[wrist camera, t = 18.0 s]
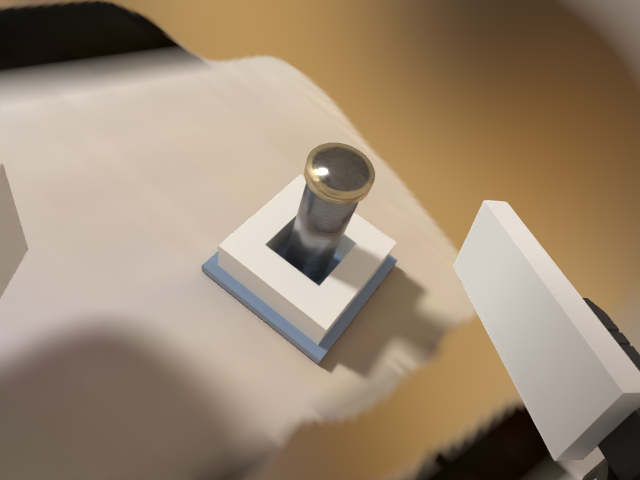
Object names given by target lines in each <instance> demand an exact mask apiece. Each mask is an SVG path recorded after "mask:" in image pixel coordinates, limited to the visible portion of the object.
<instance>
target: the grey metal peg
mask: <svg viewBox="0 0 640 480" xmlns="http://www.w3.org/2000/svg"><path fill="white" fill-rule="evenodd" d="M304 177H305V180H306V185H305V188H304V192H303V195H302V199H301V202H300V205H299V209H298V212H297V216H296V219H295V223H294V226H293V230H292V233H291V237H290V240H289V244H288V247H287V251H286V254H285V258H284V260H286V261H287V262H288V263H290V264H291V265H292V266H293V267H295V268H296V269H297V270H299V271H300V272H301V273H303V274H304V275H305V276H307V277H308V278H309V279H310V280H312V281H313V282H317V281H319V280H321V279H322V278H323V277H324V276H325V274H326V272H327V270H328V268H329V266H330V263H331V261H332V259H333V257H334V255H335V252H336V250H337V248H338V246H339V244H340V242H341V239H342V237H343V235H344V233H345V231H346V228H347V226H348V224H349V222H350V220H351V217H352V215H353V213H354V211H355V209H356V207H357V204H358V202H359V201H361V200H362V199H364V198H365V197H366V196H367V194H368V193H369V191H370V189H371V187H372V185H373V182H374V179H375V171H374V168H373V165H372V163H371V162H370V160H369V159H368V158H367V157H366V156H365V155H364V154H363V153H362V152H360V151H359V150H357V149H356V148H354V147H351V146H349V145H346V144H341V143H326V144H322V145H319V146H317V147H316V148H314V149H313V150H312V151H311V152H310V154H309V156H308V158H307V162H306V165H305V169H304Z"/></svg>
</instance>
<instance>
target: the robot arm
mask: <svg viewBox="0 0 640 480" xmlns="http://www.w3.org/2000/svg"><path fill="white" fill-rule="evenodd" d="M27 250H28V247H27V244H26V240H25V237H24V233H23V230H22V227H21V223H20V220H19V216H18V213H17V210H16V206H15V203H14V199H13V196H12V193H11V189H10V186H9V182H8V179H7V176H6V172H5V169H4V166H3V164H1V163H0V298H1V296H2V294H3V292H4V291H5V289H6V287H7V285H8V284H9V282H10V280H11V278H12V277H13V275H14V273H15V271H16V270H17V268H18V266H19V264H20V262H21V261H22V259H23V257H24V255H25V254H26V252H27ZM453 268H454V270H455V272H456V274H457V276H458V277H459V279H460V281H461V283H462V285H463V287H464V289H465V291H466V293H467V295H468V297H469V299H470V300H471V302H472V304H473V306H474V308H475V310H476V312H477V314H478V316H479V318H480V320H481V321H482V323H483V325H484V327H485V329H486V331H487V333H488V335H489V337H490V339H491V341H492V343H493V344H494V346H495V348H496V350H497V352H498V354H499V356H500V358H501V360H502V361H503V364H504V365H505V367H506V369H507V371H508V373H509V375H510V377H511V379H512V381H513V383H514V384H515V386H516V388H517V390H518V392H519V394H520V396H521V398H522V400H523V402H524V404H525V406H526V408H527V409H528V411H529V413H530V415H531V417H532V419H533V421H534V423H535V425H536V427H537V429H538V430H539V432H540V434H541V436H542V438H543V440H544V442H545V444H546V446H547V448H548V450H549V452H550V453H551V455H552V457H553V459H554V461H564V460H580V459H581V460H582V459H584V458H585V457H586V456H587V455H588V454H589V453H590V452H592V451H593V450H594V448H596V447H597V446H598V447H599V449H600V450H601V452H602V454H603V455H604V457H605V459H603V460H602V461H601V462H600V463H599V464H598V465H597V466H596V467H594V468H593V469H592V470H591V471H590V472H589V473H587V474H586V475H585V476H584V477H583V479H582V480H594V479H595V478H597V480H640V355H639V353H638V352H637V351H636V350H635V348H634V347H633V346H630V342H629V341H628V340H627V339H626V337H625V336H624V335H623V334H622V333H619V329H618V327H617V326H616V325H615V324H614V323H613V321H611V319H610V318H609V316H608V315H607V314H606V313H605V312H604V311H603V310H601V309H600V308H599V307H598V306H596V305H595V304H594V303H593V302H591V301H590V300H589V299H588V298H582V297H581V296H580V295H579V294H578V292H577V291H576V290H575V288H574V287H573V286H572V285H571V284H570V282H569V281H568V279H567V278H566V277H565V276H564V274H563V273H562V272H561V271H560V269H559V268H558V267H557V266H556V264H555V263H554V262H553V261H552V259H551V258H550V257H549V255H548V254H547V253H546V251H545V250H544V249H543V248H542V247H541V245H540V244H539V243H538V241H537V240H536V239H535V238H534V236H533V235H532V234H531V232H530V231H529V230H528V229H527V227H526V226H525V225H524V224H523V222H522V221H521V220H520V218H519V217H518V216H517V215H516V213H515V212H514V211H513V210H512V208H511V207H510V206H509V204H508V203H507V202H503V201H490V200H484V201H483V203H482V206H481V208H480V210H479V212H478V214H477V216H476V218H475V221H474V223H473V225H472V227H471V229H470V231H469V233H468V236H467V238H466V240H465V242H464V244H463V246H462V248H461V250H460V253H459V255H458V257H457V259H456V261H455V263H454V265H453Z"/></svg>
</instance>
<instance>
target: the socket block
mask: <svg viewBox="0 0 640 480" xmlns="http://www.w3.org/2000/svg"><path fill="white" fill-rule="evenodd" d="M305 185H306V180H305V177H304V176H302V175H301V174H300V175H299V176H298V177H297V178H296V179H294V180H293V181H292V182H291V183H290V184H289V185H287V186H286V187H285V188H284V189H283V190H282V191H281V192H279V193H278V194H277V195H276V196H275V197H274V198H272V199H271V200H270V201H269V202H268V203H267V204H266V205H264V206H263V207H262V208H261V209H260V210H259V211H258V212H256V213H255V214H254V215H253V216H252V217H251V218H249V219H248V220H247V221H246V222H245V223H244V224H243V225H241V226H240V227H239V228H238V229H237V230H236V231H234V232H233V233H232V234H231V235H230V236H229V237H228V238H226V239H225V240H224V241H223V242H222V243H221V244H219V245H218V252H217V253H216V254H215V255H213V256H212V257H211V258H210V259H209V260H208V261H207V262H205V263H204V264H203V265H202V271H203V272H204V273H205V274H206V275H208V276H209V277H210V278H211V279H213V280H214V281H215V282H216V283H218V284H219V285H220V286H221V287H223V288H224V289H225V290H226V291H228V292H229V293H230V294H231V295H232V296H234V297H235V298H236V299H237V300H239V301H240V302H241V303H242V304H244V305H245V306H246V307H247V308H249V309H250V310H251V311H252V312H254V313H255V314H256V315H257V316H258V317H260V318H261V319H262V320H263V321H265V322H266V323H267V324H268V325H270V326H271V327H272V328H273V329H275V330H276V331H277V332H278V333H280V334H281V335H282V336H283V337H284V338H286V339H287V340H288V341H289V342H291V343H292V344H293V345H294V346H296V347H297V348H298V349H299V350H301V351H302V352H303V353H304V354H306V355H307V356H308V357H309V358H310V359H312V360H313V361H314V362H315V363H317V364H319V362H320V361H321V360H322V359H323V357H324V356H325V355H326V353H327V352H328V351H329V349H330V348H331V347H332V346H333V344H334V343H335V342H336V340H337V339H338V338H339V336H340V335H341V334H342V333H343V331H344V330H345V329H346V327H347V326H348V325H349V323H350V322H351V321H352V320H353V318H354V317H355V316H356V314H357V313H358V312H359V310H360V309H361V308H362V307H363V305H364V304H365V303H366V301H367V300H368V299H369V297H370V296H371V295H372V294H373V292H374V291H375V290H376V288H377V287H378V286H379V284H380V283H381V282H382V281H383V279H384V278H385V277H386V275H387V274H388V273H389V271H390V270H391V269H392V268H393V266H394V265H395V263H396V262H397V260H396V259H395V258H393V257H392V256H390V255H389V254H390V252H391V251H392V249H393V248H394V246H395V245H396V242H395V241H393V240H392V239H391V238H389V237H388V236H386V235H385V234H384V233H382V232H381V231H379V230H378V229H377V228H375V227H374V226H372V225H371V224H370V223H368V222H367V221H365V220H364V219H363V218H361V217H360V216H358V215H357V214H356V213H353V215H352V217H351V220H350V222H349V224H348V226H347V228H346V231H345V233H344V235H343V237H342V239H341V242H340V244H339V246H338V248H337V250H336V252H335V255H334V257H333V259H332V261H331V263H330V266H329V268H328V270H327V272H326V274H325V276H324V277H323V278H322V279H321V280H319V281H317V282H313V281H312V280H310V279H309V278H308V277H307V276H305V275H304V274H303V273H301V272H300V271H299V270H297V269H296V268H295V267H293V266H292V265H291V264H290V263H288V262H287V261H286V260H284V258H285V254H286V251H287V247H288V244H289V240H290V237H291V233H292V230H293V226H294V223H295V219H296V216H297V212H298V209H299V205H300V202H301V199H302V195H303V192H304V188H305Z"/></svg>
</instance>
